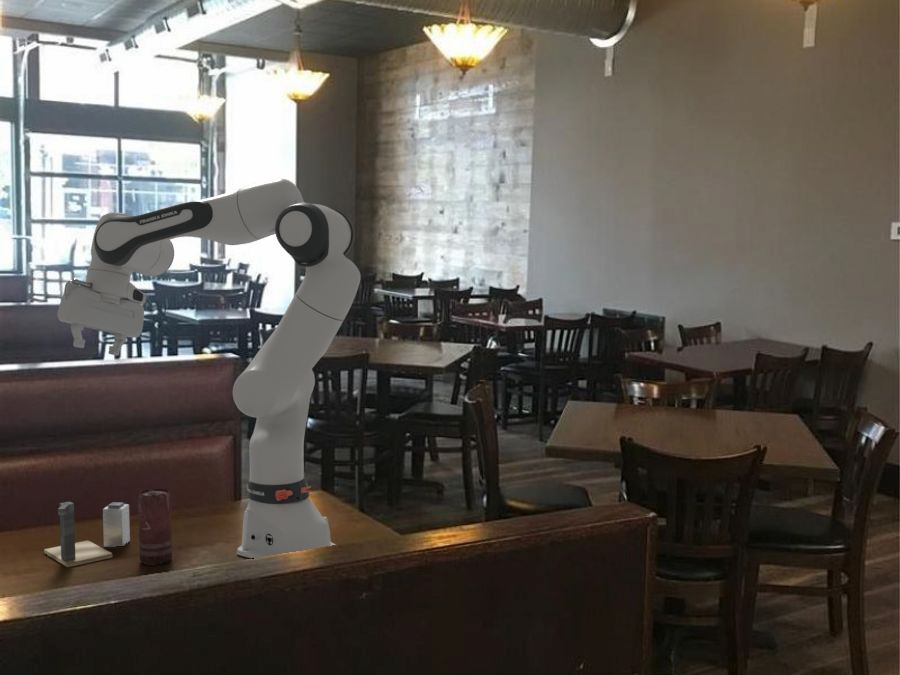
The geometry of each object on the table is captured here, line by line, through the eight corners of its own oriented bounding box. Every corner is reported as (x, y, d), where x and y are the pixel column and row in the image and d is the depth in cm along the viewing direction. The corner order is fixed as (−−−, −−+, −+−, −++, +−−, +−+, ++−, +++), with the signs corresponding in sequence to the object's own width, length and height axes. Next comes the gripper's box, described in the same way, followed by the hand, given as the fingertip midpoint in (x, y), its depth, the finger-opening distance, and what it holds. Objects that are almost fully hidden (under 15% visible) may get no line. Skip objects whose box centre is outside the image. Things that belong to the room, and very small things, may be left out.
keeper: (115, 558, 190) (113, 499, 189) (61, 570, 183) (59, 509, 182) (88, 544, 200) (86, 487, 199) (35, 554, 193) (33, 496, 192)
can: (163, 566, 186) (162, 496, 184) (134, 564, 187) (132, 494, 186) (178, 557, 192) (177, 488, 190) (149, 555, 193) (148, 487, 192)
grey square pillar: (129, 541, 202) (128, 501, 201) (122, 547, 198) (121, 506, 197) (111, 541, 202) (110, 501, 201) (103, 546, 198) (102, 506, 197)
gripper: (77, 276, 194) (66, 343, 192) (152, 297, 212) (142, 359, 210) (56, 276, 197) (45, 342, 195) (131, 297, 215) (122, 358, 213)
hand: (96, 351), depth 203 cm, fingers open, 8 cm apart
